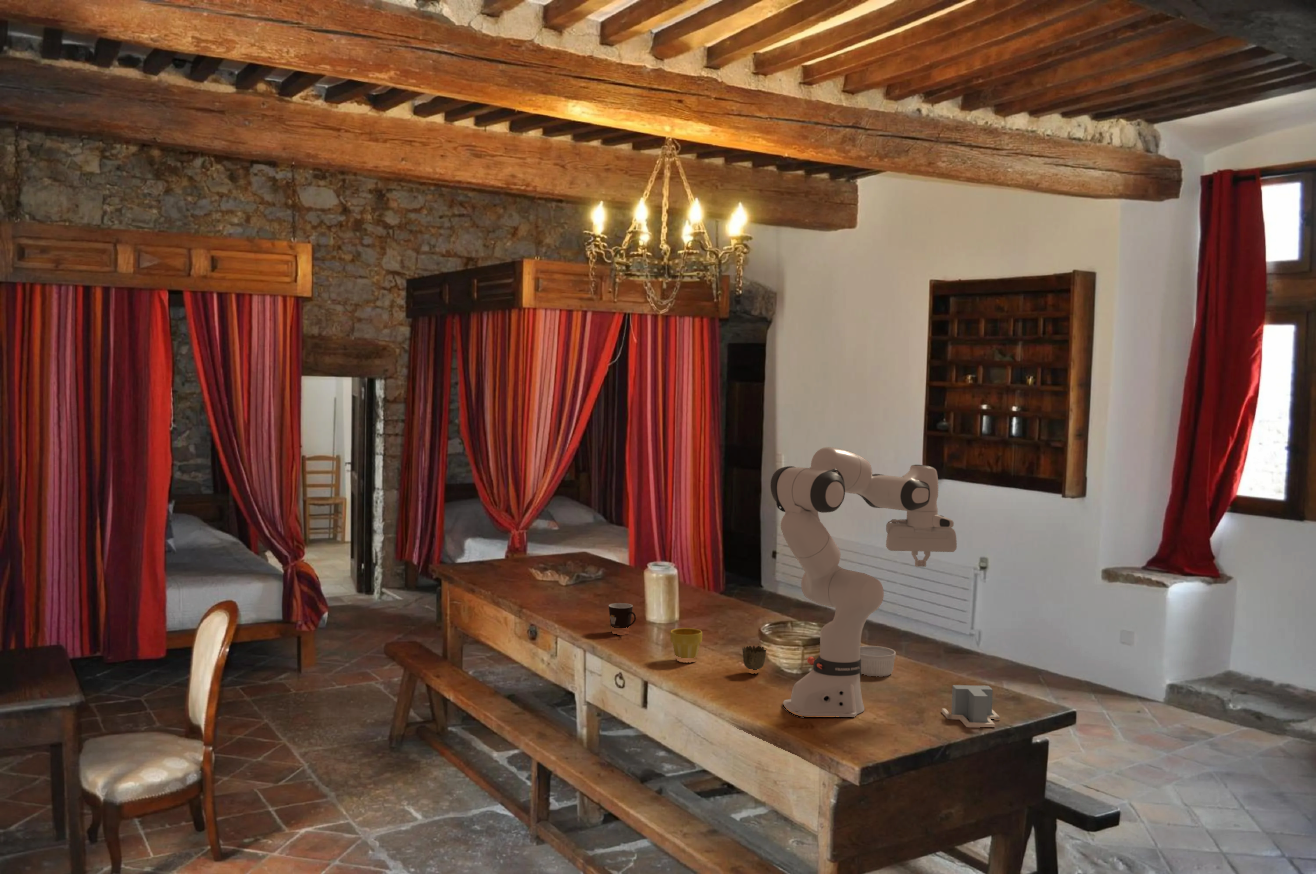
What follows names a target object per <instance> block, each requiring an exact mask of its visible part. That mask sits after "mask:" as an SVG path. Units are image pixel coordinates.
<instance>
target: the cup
mask: <svg viewBox="0 0 1316 874" xmlns="http://www.w3.org/2000/svg"><path fill="white" fill-rule="evenodd" d="M766 654H767V649H766V650H765V648H764V646H762V647H761V646H760V645H758V646H755V645H752V646H751V645H749V646H748V645H747V646H746V647H745V646H743V647H742V659H743V664H744V666H745V668H747V670H748V669H753V670H757V669H759V670H761V669H762V668H763V667H764V665H765V661H766Z"/></svg>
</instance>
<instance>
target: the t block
mask: <svg viewBox="0 0 1316 874" xmlns="http://www.w3.org/2000/svg"><path fill="white" fill-rule="evenodd" d="M951 686H952V687H951V688H952V690H951V691H952V692H951V715H963V716H964V717H965V718H966V719H967V718H968V719H969V720H968V719H967V720H968V721H969V722H975V723H987V715H992V710H993V688H992V687H991V686H989V685H965V684H964V685H963V684H962V685H961V684H958V685H957V684H955V685H954V684H953V685H951Z"/></svg>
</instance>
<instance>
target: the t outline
mask: <svg viewBox="0 0 1316 874" xmlns="http://www.w3.org/2000/svg"><path fill="white" fill-rule="evenodd" d="M941 713H942V714H943V715H944V716H945V718H946V719H947V720H960V722H962V723H963V725H964V726H965V727H966V728H980V727H995V728H996V723H994V720H991V719H1000V715H999V714H998V713H996V711H995V710H993V709H992V715H987V723H975V722H970V721H969V720H968V719H967V718H965V717H964V716H963V715H952V713H950V712H949V711H948V710H947V708H941ZM1000 720H1001V719H1000Z"/></svg>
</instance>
